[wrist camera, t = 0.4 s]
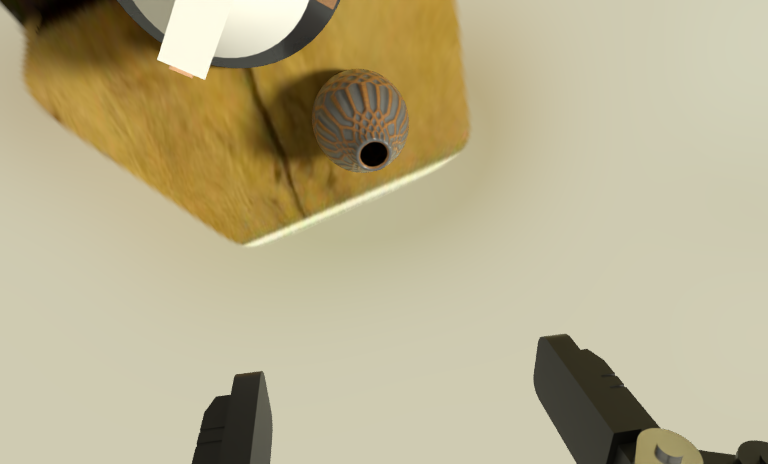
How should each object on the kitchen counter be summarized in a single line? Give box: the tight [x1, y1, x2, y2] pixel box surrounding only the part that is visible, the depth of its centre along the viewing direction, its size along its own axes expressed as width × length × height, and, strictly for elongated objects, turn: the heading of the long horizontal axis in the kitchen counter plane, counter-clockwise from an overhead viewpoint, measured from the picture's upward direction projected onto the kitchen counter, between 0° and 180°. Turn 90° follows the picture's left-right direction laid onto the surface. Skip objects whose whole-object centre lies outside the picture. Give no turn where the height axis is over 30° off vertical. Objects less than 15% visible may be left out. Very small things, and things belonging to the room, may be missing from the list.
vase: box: [312, 69, 409, 173], centre depth 34 cm, size 7×7×9 cm
